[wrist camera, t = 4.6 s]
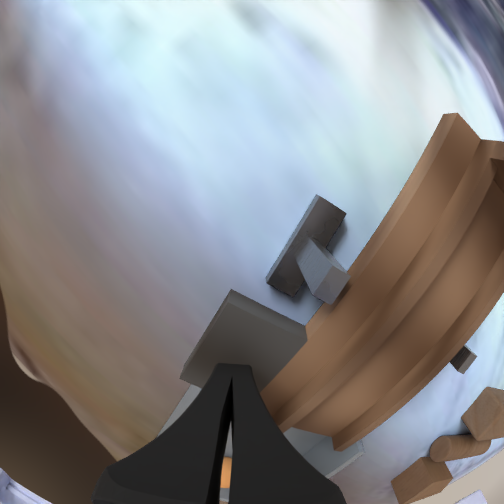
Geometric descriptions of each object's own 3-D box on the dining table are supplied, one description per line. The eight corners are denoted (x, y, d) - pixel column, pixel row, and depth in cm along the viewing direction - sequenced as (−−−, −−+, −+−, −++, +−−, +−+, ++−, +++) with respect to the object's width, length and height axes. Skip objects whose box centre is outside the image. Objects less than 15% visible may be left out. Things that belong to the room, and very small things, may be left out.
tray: (356, 409, 18) (371, 447, 14) (272, 477, 21) (274, 509, 17) (210, 354, 16) (201, 400, 12) (153, 440, 19) (143, 475, 15)
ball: (230, 492, 17) (237, 463, 20) (246, 490, 16) (252, 459, 18) (198, 483, 17) (206, 454, 19) (210, 482, 15) (219, 450, 18)
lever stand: (316, 194, 14) (353, 209, 8) (449, 290, 15) (499, 328, 10) (265, 277, 15) (272, 333, 10) (406, 350, 16) (444, 401, 11)
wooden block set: (508, 414, 13) (543, 413, 15) (481, 382, 19) (524, 392, 21) (395, 512, 17) (465, 492, 19) (384, 479, 23) (453, 469, 25)
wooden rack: (373, 56, 8) (409, 29, 5) (526, 222, 9) (563, 242, 6) (181, 370, 13) (165, 415, 10) (353, 430, 14) (361, 467, 12)
